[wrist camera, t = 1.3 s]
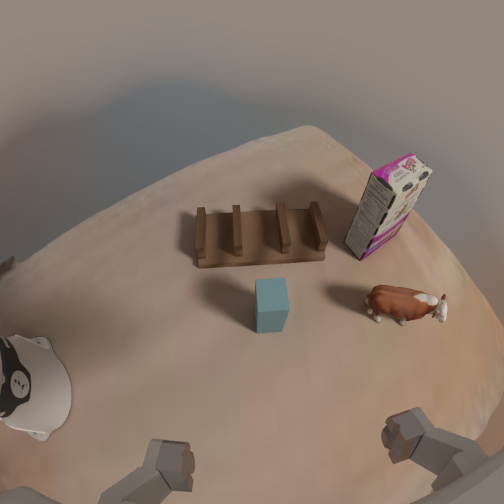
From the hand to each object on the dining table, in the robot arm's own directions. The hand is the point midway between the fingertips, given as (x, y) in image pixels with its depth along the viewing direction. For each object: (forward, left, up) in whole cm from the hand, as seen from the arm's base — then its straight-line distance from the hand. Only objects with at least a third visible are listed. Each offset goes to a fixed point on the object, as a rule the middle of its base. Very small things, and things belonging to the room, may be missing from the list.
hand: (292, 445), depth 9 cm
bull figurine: (+22, +12, -27) cm, 36 cm away
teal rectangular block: (+2, +14, -26) cm, 30 cm away
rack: (+2, +28, -26) cm, 39 cm away
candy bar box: (+22, +27, -27) cm, 44 cm away
